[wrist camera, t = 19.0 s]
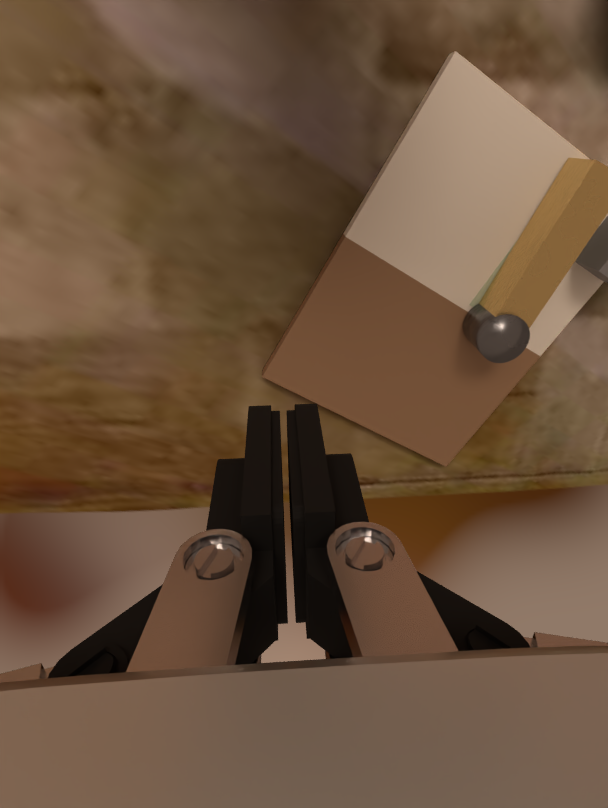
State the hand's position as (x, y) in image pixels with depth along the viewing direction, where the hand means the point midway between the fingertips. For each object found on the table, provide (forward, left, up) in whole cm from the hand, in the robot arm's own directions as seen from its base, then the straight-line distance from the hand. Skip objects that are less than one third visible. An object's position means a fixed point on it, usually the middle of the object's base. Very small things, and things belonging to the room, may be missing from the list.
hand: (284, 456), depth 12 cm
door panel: (-3, +14, -27) cm, 30 cm away
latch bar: (-8, +16, -26) cm, 32 cm away
